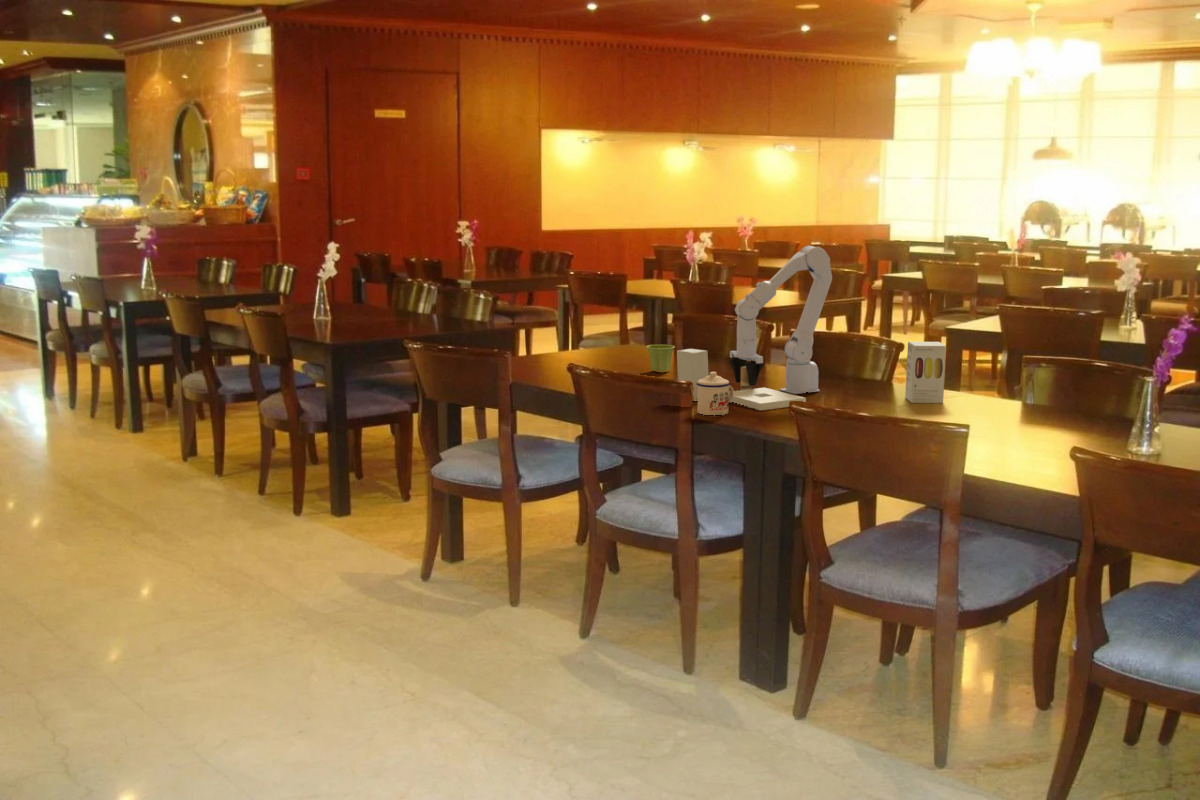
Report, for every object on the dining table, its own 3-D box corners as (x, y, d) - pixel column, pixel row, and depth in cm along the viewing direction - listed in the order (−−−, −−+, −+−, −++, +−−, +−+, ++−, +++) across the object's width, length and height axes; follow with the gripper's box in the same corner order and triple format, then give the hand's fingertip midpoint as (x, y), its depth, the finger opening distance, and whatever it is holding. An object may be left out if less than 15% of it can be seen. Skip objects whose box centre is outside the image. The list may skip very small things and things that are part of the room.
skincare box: (709, 400, 355) (710, 350, 353) (693, 402, 352) (693, 352, 349) (692, 396, 362) (692, 347, 360) (676, 398, 359) (676, 349, 356)
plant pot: (656, 368, 414) (656, 343, 412) (679, 371, 408) (679, 345, 407) (641, 372, 406) (641, 347, 404) (664, 375, 401) (664, 349, 399)
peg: (747, 391, 368) (747, 366, 367) (753, 393, 365) (753, 367, 364) (738, 393, 367) (738, 367, 365) (744, 394, 364) (744, 368, 362)
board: (764, 393, 364) (764, 387, 364) (805, 404, 347) (805, 397, 347) (720, 399, 357) (720, 392, 357) (760, 410, 340) (760, 403, 339)
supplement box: (910, 403, 347) (912, 345, 344) (904, 397, 356) (906, 341, 353) (944, 403, 347) (946, 345, 343) (937, 397, 356) (939, 340, 353)
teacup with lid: (711, 418, 330) (711, 376, 328) (689, 413, 338) (689, 371, 335) (743, 412, 338) (744, 371, 335) (721, 407, 345) (721, 367, 343)
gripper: (721, 337, 367) (721, 381, 370) (749, 343, 355) (749, 388, 357) (740, 335, 371) (740, 379, 373) (769, 341, 358) (768, 386, 361)
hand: (745, 383), depth 366 cm, fingers open, 6 cm apart
